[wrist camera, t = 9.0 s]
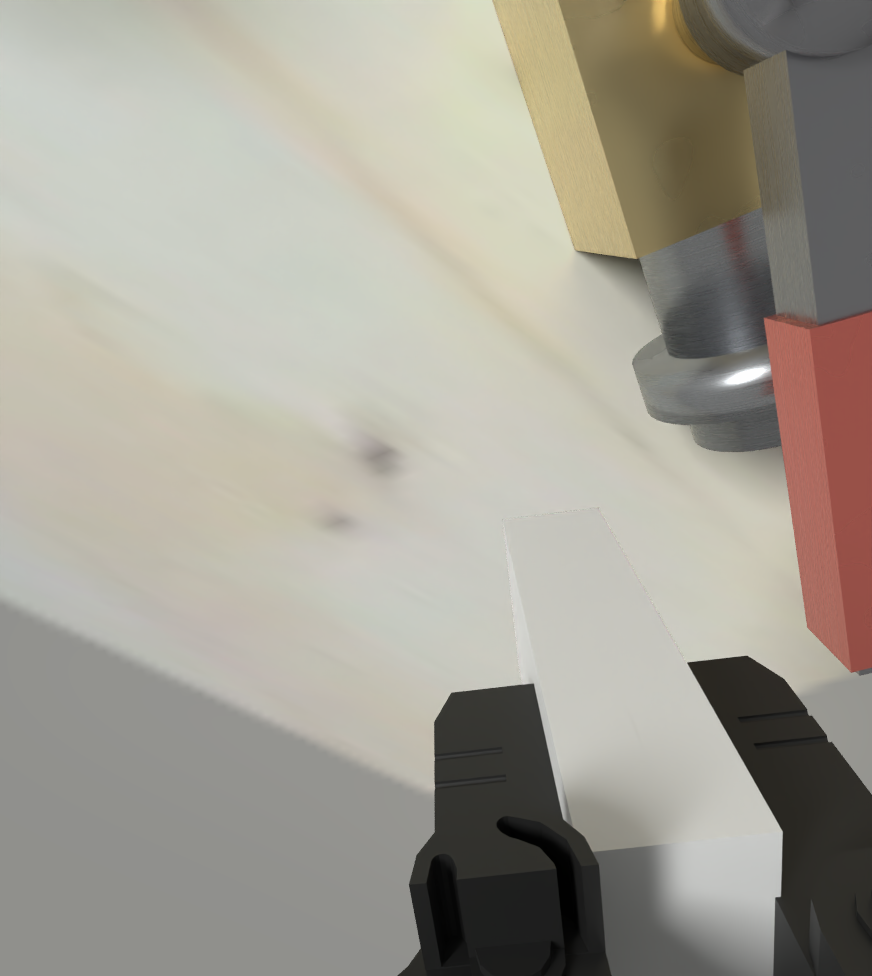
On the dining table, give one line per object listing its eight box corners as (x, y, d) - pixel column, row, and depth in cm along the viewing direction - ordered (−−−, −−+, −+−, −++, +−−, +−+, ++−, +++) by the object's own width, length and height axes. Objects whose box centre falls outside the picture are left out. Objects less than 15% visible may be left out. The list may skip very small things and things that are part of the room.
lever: (657, -130, 12) (706, -201, 10) (878, -202, 12) (973, -292, 10) (777, 637, 17) (827, 693, 15) (939, 596, 17) (1012, 648, 15)
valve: (391, -308, 18) (370, -729, 10) (641, -435, 18) (829, -992, 10) (634, 429, 25) (740, 528, 17) (826, 354, 24) (1036, 419, 16)
